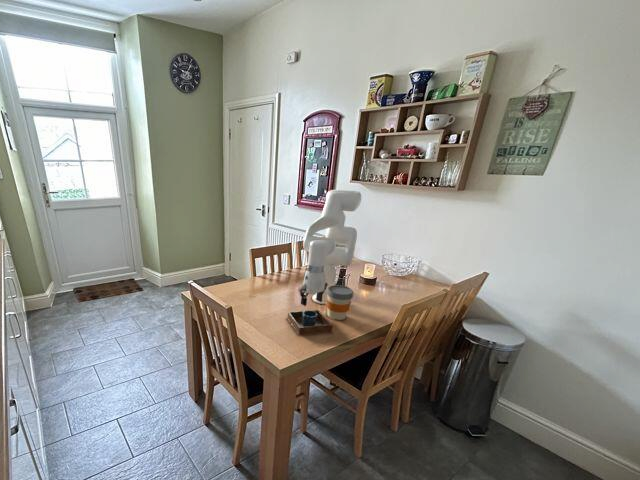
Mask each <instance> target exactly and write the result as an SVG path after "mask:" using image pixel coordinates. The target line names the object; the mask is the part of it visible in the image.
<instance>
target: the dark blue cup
mask: <svg viewBox="0 0 640 480" xmlns="http://www.w3.org/2000/svg"><path fill="white" fill-rule="evenodd" d="M311 310H312V309H311ZM311 310H310V309H309V310H303V311H304V312H303V313H302V319H303V322H302V323H303V325H304V326H306V327H307V326H314V325H315V323H316V320H317V317H318V314H317V313H316V312H314V311H311Z"/></svg>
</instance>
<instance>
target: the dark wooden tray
mask: <svg viewBox="0 0 640 480" xmlns="http://www.w3.org/2000/svg"><path fill="white" fill-rule="evenodd" d="M304 311H305V310H296V311H295V310H294V311H287V320H288V321H289V323H290V324H291V325H292V327H293V328H294V330H295V331H296V332H297V334H298V335H308V334H321V333H329V332H330V333H331V332H332V331H333V324H332V323H331V322H330V320H329V319H328V318H327V317H326V316H325V315H324V314H323V313H322V311H320V310H319V309H311V311H314V312H316V313H317V314H318V317H317V320H316V323H315V325H314V326H307V327H306V326H304V325H303V323H302V322H303V319H302V313H303V312H304Z"/></svg>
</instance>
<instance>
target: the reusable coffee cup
mask: <svg viewBox="0 0 640 480" xmlns="http://www.w3.org/2000/svg"><path fill="white" fill-rule="evenodd" d="M327 295H328V297H327V304H326V308H327V310H326V311H327V316H328V318H330V319H333V320H337V321H341V320H345V319H346V317H347V313H348V312H349V310H350V307H351V304H352V299H353V297H354V290H353V289H352V288H351V287H350V286H347V285H341V284H340V285H339V284H335V285H333V286H330V287H329V288H328V291H327Z"/></svg>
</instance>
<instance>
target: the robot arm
mask: <svg viewBox="0 0 640 480" xmlns="http://www.w3.org/2000/svg"><path fill="white" fill-rule="evenodd" d="M361 202H362V194H361V192H360V191H358V190H345V189H330V190H329V191H327V193H326V196H325V203H324V206H323V209H322V213H321V216H320V217H319V218H318V219H316V220H315V221H313V222H312V223H311V224H310V225H309V226H308V227H307V229H306V231H305V236H304V238H303V243H302V248H303V250H304V251H305V252H308V257H307V259H308V260H307V264H306V265H307V266H306V268H305V273H304V276H303V281H302V286H300V287H299V288H298V289H297V291H298V295H299V296H300V305H302V306H304V307H306V306H307V303H308V298H307V297H308V296H309V295H313V296H312V301H313V302H315V303H316V304H321V305H327V297H328V295H327V291H328V288H329V287H330V286H333V285H336V279H337V269H336V267H335V265H336V266H341V267H349V266H351V264H352V262H353V258H354V255H355V254H354V253H355V248H356V244H357V238H358V231H357V228H355V227H351V226H345V223H346V214H345V212H356V210H357V209H358V208H359V207H360V205H361ZM322 230H326V231H325V236H318V235H315V234H316V233H318V232H320V231H322ZM336 245H340V246H336ZM342 246H345V247H342Z"/></svg>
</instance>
